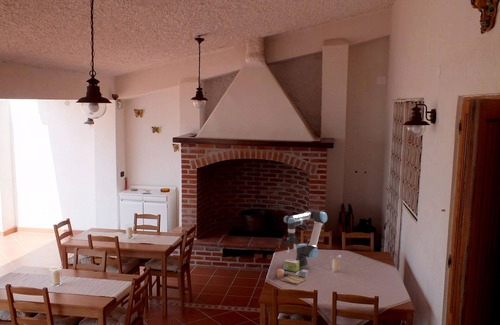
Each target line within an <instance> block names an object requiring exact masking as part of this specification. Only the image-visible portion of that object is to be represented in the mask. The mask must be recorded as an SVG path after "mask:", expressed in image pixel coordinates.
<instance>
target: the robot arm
mask: <svg viewBox="0 0 500 325" xmlns="http://www.w3.org/2000/svg"><path fill="white" fill-rule="evenodd" d="M304 220H311V221H313V223H314V224H313V229H312V232H311V236H310V239H309V243H308V244H307V243H298V240H297V235H296V227H298V226H300V225H303V224H304ZM283 222H284V223H286V224H287V236H288V237H286V240H285V245H284V247H285V248H286V249H285V250H286V254H290V244H291V242H293V250H294V251H296V258H295V260H298V261H299V267H300V266H302V267H303V266H308V265H309V261H308V258H311V259H315V258H317V257H318V255H319V249H318V241H319V237H320V234H321V231H322V226H323V225H324V224H325V223H326V222H328V215H327V213H326V211H325V212H324V211H322V210H321V211H320V210H315V209H314V210H313V209H312V210H307V211H304V212H303V213H302V212H301V213H299V214H294V215H285V216H284V217H283Z"/></svg>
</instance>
